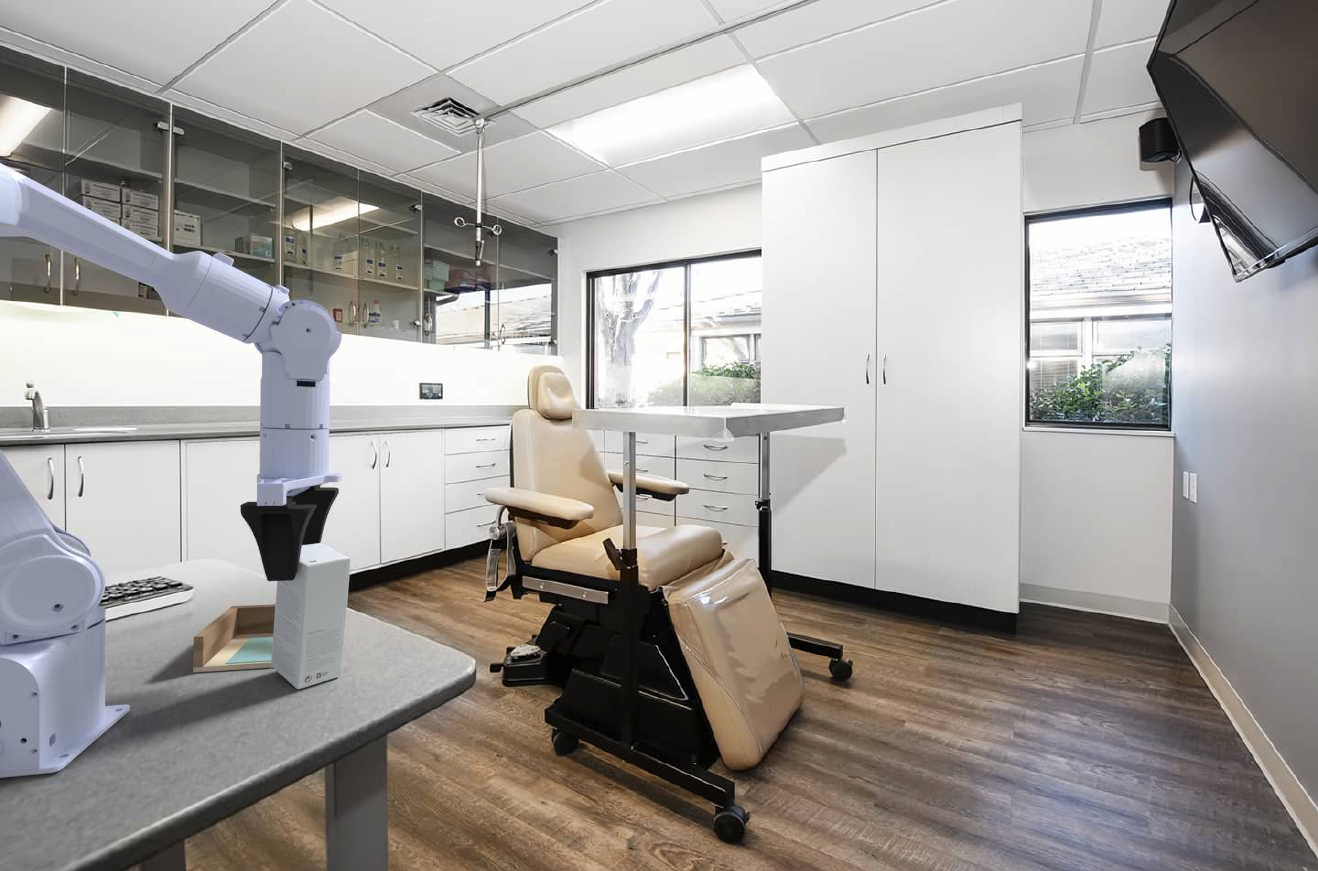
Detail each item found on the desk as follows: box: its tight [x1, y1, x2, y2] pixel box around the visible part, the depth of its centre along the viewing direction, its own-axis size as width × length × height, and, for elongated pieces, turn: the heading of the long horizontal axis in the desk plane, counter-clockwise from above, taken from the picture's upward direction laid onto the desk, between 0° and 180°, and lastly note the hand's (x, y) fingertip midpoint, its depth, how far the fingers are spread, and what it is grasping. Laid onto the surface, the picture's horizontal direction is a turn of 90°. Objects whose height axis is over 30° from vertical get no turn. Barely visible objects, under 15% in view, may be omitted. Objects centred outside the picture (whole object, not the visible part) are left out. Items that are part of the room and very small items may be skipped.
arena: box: [192, 603, 275, 673], centre depth 66 cm, size 10×11×4 cm
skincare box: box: [271, 542, 351, 690], centre depth 60 cm, size 6×4×12 cm
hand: (293, 569), depth 60 cm, fingers open, 7 cm apart
